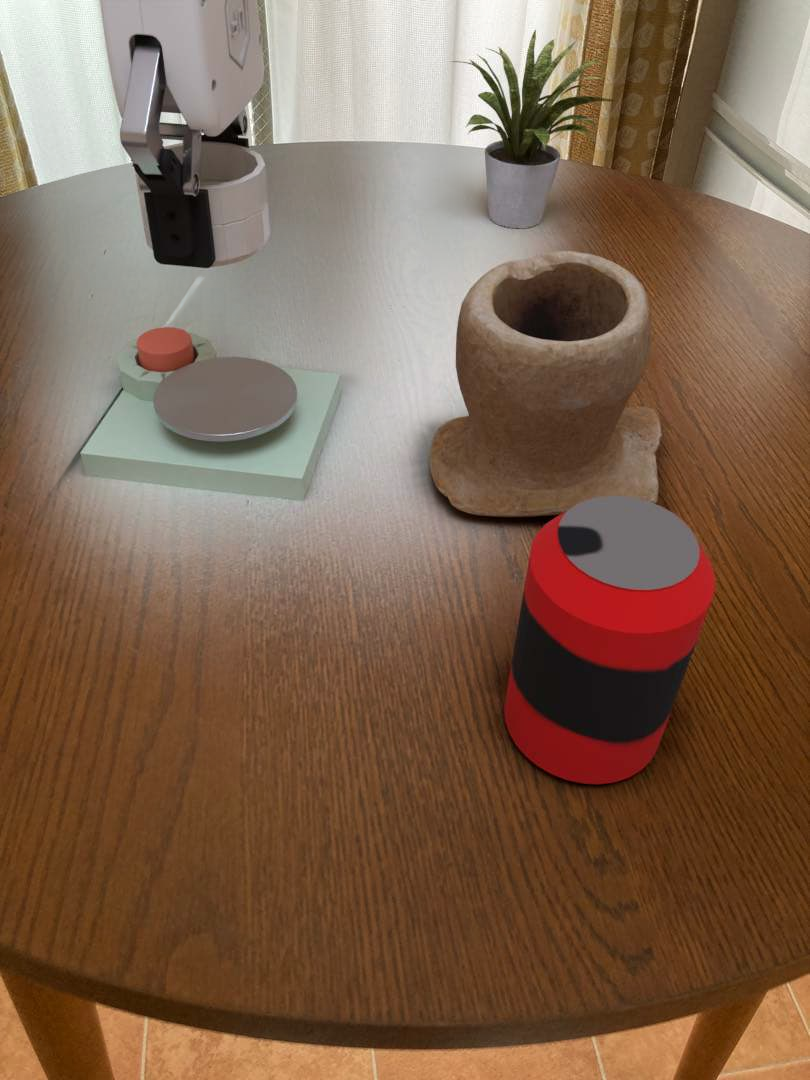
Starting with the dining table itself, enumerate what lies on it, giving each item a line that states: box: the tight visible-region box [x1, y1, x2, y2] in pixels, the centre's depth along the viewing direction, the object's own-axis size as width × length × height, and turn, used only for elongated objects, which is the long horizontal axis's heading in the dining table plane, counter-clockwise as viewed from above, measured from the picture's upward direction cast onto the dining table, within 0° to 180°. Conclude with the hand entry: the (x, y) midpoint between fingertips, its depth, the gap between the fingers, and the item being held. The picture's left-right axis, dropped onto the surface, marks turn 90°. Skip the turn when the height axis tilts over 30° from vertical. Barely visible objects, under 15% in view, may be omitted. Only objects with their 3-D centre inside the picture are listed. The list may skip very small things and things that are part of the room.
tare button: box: [137, 326, 194, 372], centre depth 62 cm, size 4×4×2 cm
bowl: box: [134, 141, 271, 268], centre depth 51 cm, size 7×7×4 cm
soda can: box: [503, 496, 716, 785], centre depth 41 cm, size 8×8×12 cm
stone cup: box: [428, 250, 663, 518], centre depth 53 cm, size 15×12×15 cm
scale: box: [80, 332, 342, 502], centre depth 61 cm, size 15×13×4 cm
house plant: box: [448, 27, 618, 229], centre depth 84 cm, size 14×14×16 cm
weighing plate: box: [153, 356, 297, 441], centre depth 58 cm, size 9×9×1 cm
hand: (207, 231), depth 52 cm, fingers closed on bowl, 6 cm apart
